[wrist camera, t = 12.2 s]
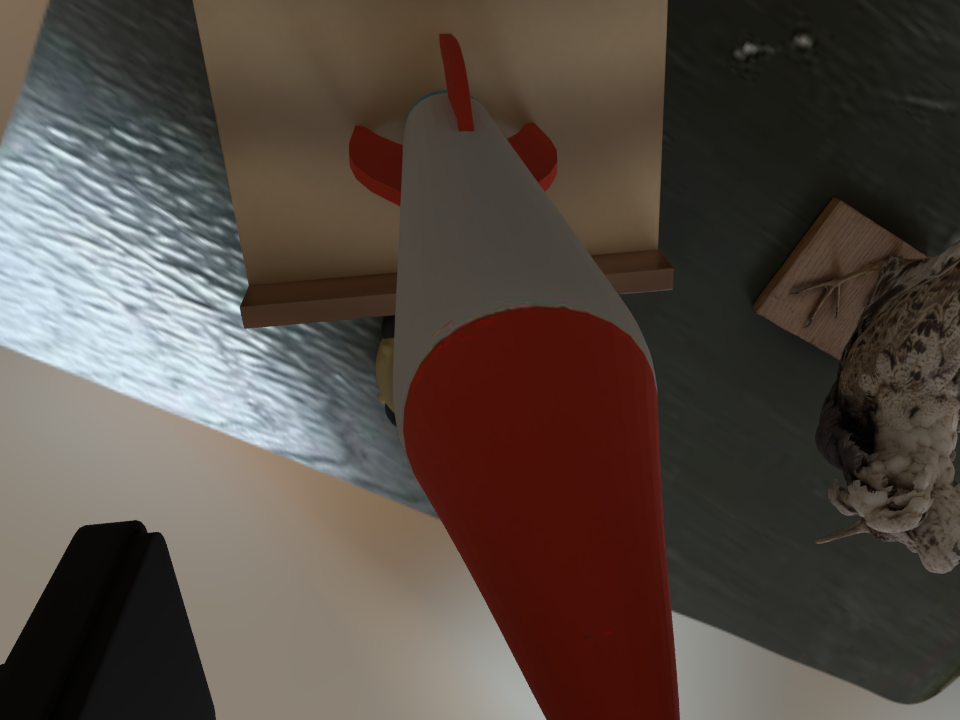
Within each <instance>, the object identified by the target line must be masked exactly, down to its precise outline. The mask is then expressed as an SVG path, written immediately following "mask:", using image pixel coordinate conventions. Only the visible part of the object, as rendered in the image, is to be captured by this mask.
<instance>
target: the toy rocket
mask: <svg viewBox="0 0 960 720" xmlns="http://www.w3.org/2000/svg"><path fill="white" fill-rule="evenodd" d="M439 40H440V49H441V54H442V59H443V64H444V71H445V78H446V85H447V90H443V91H436V92H433V93H429V94H427V95H426V96H424V97H422V98H420V99H419V100H418V101H417V102H416V103H415V104H414V105H413V106H412V108H411V109H410V111H409V113H408V115H407V118H406V121H405V125H404V136H403V145H401V144H399V143H396V142H394V141H391V140H389V139H386V138H384V137H381V136H379V135H377V134H375V133H374V132H372V131H371V130H369V129H368V128H366V127H363V126H355V128H354V131H353V133H352V136H351V139H350V142H349V162H350V168H351V170H352V172H353V174H354V176H355V178H356V179H357V180H358V181H359V182H360V183H361V184H362V185H364V186H365V187H366V188H367V189H368V190H370V191H371V192H372V193H374V194H376V195H378V196H380V197H382V198H384V199H386V200H388V201H390V202H392V203H394V204H396V205H398V206H400V225H399V247H398V268H397V290H396V312H395V334H394V360H393V404H394V412H395V418H396V425H397V431H398V436H399V440H400V442H401V445H402V448H403V451H404V453H405V456H406V459H407V461H408V464H409V466H410V468H411V470H412V471H413V473H414V475H415V476H416V478H417V480H418V482H419V483H420V485H421V487H422V488H423V490H424V492H425V493H426V495H427V497H428V499H429V500H430V502H431V504H432V505H433V507H434V509H435V511H436V512H437V514H438V516H439V518H440V519H441V521H442V523H443V525H444V526H445V528H446V530H447V532H448V533H449V535H450V537H451V539H452V540H453V542H454V544H455V546H456V548H457V550H458V551H459V553H460V555H461V557H462V559H463V560H464V562H465V564H466V566H467V568H468V569H469V571H470V573H471V575H472V577H473V579H474V581H475V582H476V584H477V586H478V588H479V590H480V592H481V594H482V596H483V598H484V599H485V601H486V603H487V605H488V607H489V609H490V611H491V613H492V615H493V617H494V619H495V620H496V622H497V624H498V626H499V628H500V630H501V632H502V634H503V636H504V638H505V640H506V642H507V644H508V646H509V648H510V650H511V652H512V654H513V656H514V657H515V660H516V662H517V663H518V665H519V667H520V669H521V671H522V673H523V675H524V677H525V679H526V681H527V683H528V685H529V687H530V689H531V691H532V693H533V695H534V697H535V698H536V700H537V702H538V704H539V706H540V708H541V710H542V712H543V714H544V716H545V718H546V719H547V720H680V715H679V697H678V684H677V671H676V659H675V647H674V636H673V624H672V614H671V603H670V592H669V581H668V570H667V558H666V546H665V533H664V520H663V505H662V489H661V471H660V451H659V426H658V397H657V384H656V378H655V373H654V367H653V362H652V357H651V354H650V351H649V349H648V347H647V344H646V342H645V340H644V337H643V335H642V333H641V331H640V328H639V326H638V324H637V322H636V321H635V319H634V317H633V316H632V314H631V312H630V311H629V309H628V308H627V306H626V305H625V303H624V302H623V300H622V299H621V297H620V296H619V295H618V293H617V292H616V290H615V289H614V288H613V286H612V285H611V283H610V282H609V281H608V279H607V278H606V276H605V275H604V274H603V272H602V271H601V269H600V268H599V267H598V265H597V264H596V262H595V261H594V260H593V258H592V257H591V255H590V254H589V253H588V251H587V250H586V249H585V247H584V246H583V244H582V243H581V242H580V240H579V239H578V237H577V236H576V235H575V233H574V232H573V230H572V229H571V228H570V226H569V225H568V224H567V222H566V221H565V219H564V218H563V217H562V215H561V214H560V212H559V211H558V210H557V208H556V207H555V205H554V204H553V203H552V201H551V200H550V199H549V197H548V196H547V194H546V193H545V191H546V190H547V189H549V188H550V186H551V184H552V182H553V181H554V179H555V177H556V175H557V163H558V160H557V149H556V148H555V146H554V144H553V143H552V141H551V139H550V138H549V137H548V136H547V135H546V134H545V133H544V132H543V131H542V130H541V129H540V128H539V127H538V126H537V125H536V124H535V123H530V124H525V125H524V126H523V127H522V129H521V130H520V131H519V132H518V133H517V134H515V135H513V136H511V137H510V138H508V139H506V137H505V136H504V135H503V133H502V132H501V131H500V129H499V128H498V126H497V125H496V124H495V122H494V121H493V119H492V118H491V117H490V115H489V114H488V112H487V111H486V109H485V108H484V107H483V106H482V104H481V103H480V102H479V101H478V100H476V99H475V98H474V97H472V96H470V92H469V85H468V80H467V74H466V68H465V62H464V59H463V55H462V51H461V47H460V45H459V43H458V41H457V39H456V38H455V37H454V36H453V35H452V34H439Z"/></svg>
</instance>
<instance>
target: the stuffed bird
mask: <svg viewBox="0 0 960 720" xmlns="http://www.w3.org/2000/svg"><path fill="white" fill-rule="evenodd" d="M753 310H754V311H755V312H756V313H757V314H759V315H761V316H763V317H764V318H766V319H768V320H770V321H772V322H773V323H775V324H776V325H778V326H780V327H781V328H783V329H785V330H787V331H788V332H790V333H792V334H794V335H796V336H798V337H800V338H801V339H803V340H805V341H807V342H808V343H810V344H811V345H814V346H815V347H817V348H819V349H820V350H822V351H824V352H826V353H828V354H830V355H832V356H833V357H834V358H836V359H838V360H840V364H839V369H838V373H837V380H836V382H835V383H834V384H833V386H832V388H831V390H830V393H829V395H828V396H827V397H826V399H825V401H824V404H823V407H822V412H821V415H820V420H819V425H818V428H817V431H816V435H815V438H816V439H815V440H816V445H817V447H818V450H819V451H820V452H821V454H822V455H823V457H824V458H825V459H826V460H827V461H828V462H829V463H830V464H832V465H833V466H835V467H836V468H838V469H841V470H843V474H844V477H845V480H846V482H847V485H848V489H844V488H843V487H841V486H840V484H839V483H838V482H837V479H836V477H835V479H834V489H829V488H828V497H829V500H830V502H831V503H832V505H833V506H835V507H837V509H838V510H839V511H840V512H841V513H842V514H845V515H847V516H850V515H854V514H856V515H859V516H861V517H860V519H859V520H858V521H856V522H855V523H853V524H852V525H850V526H848V527H846V528H844V529H842V530H839V531H837V532H835V533H833V534H831V535H829V536H827V537H824V538H821V539H819V540H816V541H815V543H817V544H821V543H825V542H829V541H832V540H836V539H840V538H843V537H847V536H850V535H853V534H857V533H861V532H866V533H870V534H873V535H874V536H876V538H881V539H882V541H884V542H887V541H888V542H894V541H896V542H901V543H903V544H905V545H906V546H907V547H908V549H909V550H911V551H912V552H914V553H917V552H918V554H919V556H920V558H921V561H922V564H923V565H924V567H925V568H926V569H927V570H928V571H930V572H933V573H941V574H942V573H947V572H950V571H951V570H952V569H953V568H954V566H956V565H957V564H959V563H960V562H959V563H958V560H959V559H960V556H956V555H957V554H956V553H955V552H952V549H953V547H954V545H955V542H958V545H957V547H958V549H959V550H960V483H959V484H957V482H955V481H954V482H953V479H954V477H953V476H954V473H955V470H954V467H953V465H952V461H953V460H954V459H955V456H956V452H955V451H954V449H955V446H956V442H957V432H958V433H960V240H959V241H958V242H957V243H955V244H954V245H952V246H951V247H950V248H948V249H947V250H946V251H944V252H943V253H942V254H941V255H939V256H929V257H928V256H926V255H925V254H923V253H921V252H920V251H918V250H917V249H915V248H914V247H912V246H911V245H909V244H908V243H906V242H904V241H903V240H902V239H900V238H898V237H897V236H895V235H894V234H892V233H891V232H889V231H888V230H886V229H885V228H883V227H881V226H880V225H878V224H877V223H875V222H874V221H872V220H870V219H869V218H867V217H866V216H864V215H863V214H861V213H860V212H858V211H857V210H855V209H854V208H852V207H851V206H849V205H848V204H846V203H844V202H843V201H841V200H839V199H838V198H836V197H833V198H832V199H831V201H830V202H829V203H828V205H827V206H826V207H825V209H824V210H823V211H822V213H821V214H820V215H819V217H818V218H817V219H816V221H815V222H814V223H813V225H812V226H811V227H810V229H809V230H808V231H807V233H806V234H805V235H804V237H803V238H802V239H801V241H800V242H799V243H798V245H797V246H796V248H795V249H794V250H793V252H792V253H791V254H790V255H789V257H788V258H787V260H786V261H785V262H784V264H783V265H782V266H781V268H780V269H779V270H778V272H777V273H776V274H775V276H774V277H773V278H772V280H771V281H770V282H769V284H768V285H767V286H766V288H765V289H764V290H763V292H762V293H761V295H760V296H759V297H758V298H757V300H756V301H755V303H754V306H753ZM888 542H887V543H888Z"/></svg>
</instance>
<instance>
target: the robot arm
mask: <svg viewBox="0 0 960 720" xmlns="http://www.w3.org/2000/svg"><path fill="white" fill-rule="evenodd" d="M0 720H216V717H215V709H214V705H213V702H212V698H211V694H210V691H209V688H208V684H207V681H206V677H205V674H204V671H203V668H202V664H201V660H200V657H199V654H198V650H197V647H196V643H195V640H194V636H193V633H192V630H191V627H190V623H189V619H188V616H187V613H186V609H185V606H184V603H183V599H182V596H181V592H180V589H179V585H178V582H177V579H176V575H175V572H174V568H173V565H172V561H171V558H170V555H169V551H168V548H167V544H166V542H165V539H164V537H163V535H162V534H161V533H159V532H153V533H147V530H146V528H145V526H144V525H143V524H142V522H140V521H137V520H134V521H124V522H114V523H104V524H94V525H85V526H83V527H81V528H79V529H78V531H77V532H76V533H75V535H74V537H73V538H72V540H71V542H70V544H69V546H68V548H67V549H66V551H65V553H64V555H63V557H62V559H61V560H60V562H59V564H58V566H57V568H56V570H55V572H54V573H53V575H52V577H51V579H50V581H49V583H48V584H47V586H46V588H45V590H44V592H43V593H42V595H41V597H40V599H39V601H38V603H37V605H36V606H35V608H34V610H33V612H32V614H31V616H30V617H29V619H28V621H27V623H26V625H25V627H24V629H23V630H22V632H21V634H20V636H19V638H18V640H17V641H16V643H15V645H14V647H13V649H12V651H11V652H10V654H9V656H8V658H7V660H6V662H5V664H1V665H0Z"/></svg>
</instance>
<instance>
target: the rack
mask: <svg viewBox="0 0 960 720" xmlns="http://www.w3.org/2000/svg"><path fill="white" fill-rule="evenodd" d="M193 6H194V11H195V16H196V21H197V26H198V31H199V36H200V41H201V46H202V51H203V56H204V61H205V66H206V71H207V76H208V81H209V86H210V91H211V96H212V101H213V107H214V112H215V117H216V122H217V127H218V132H219V137H220V142H221V147H222V152H223V157H224V162H225V167H226V172H227V177H228V182H229V187H230V192H231V197H232V202H233V208H234V213H235V218H236V223H237V228H238V233H239V238H240V243H241V248H242V253H243V258H244V263H245V268H246V273H247V278H248V283H249V287H248V289H247V292H246V294H245V296H244V299H243V301H242V303H241V306H240V311H241V316H242V320H243V325H244V328H245V329H247V328H258V327H269V326H279V325H290V324H301V323H312V322H323V321H334V320H345V319H356V318H367V317H378V316H389V315H395V312H396V290H397V268H398V247H399V225H400V206H398V205H396V204H394V203H392V202H390V201H388V200H386V199H384V198H382V197H380V196H378V195H376V194H374V193H372V192H371V191H370V190H368V189H367V188H366V187H365V186H364V185H362V184H361V183H360V182H359V181H358V180H357V179H356V178H355V176H354V174H353V172H352V170H351V168H350V162H349V142H350V139H351V136H352V133H353V131H354V128H355V126H363V127H366V128H368V129H369V130H371V131H372V132H374V133H375V134H377V135H379V136H381V137H384V138H386V139H389V140H391V141H394V142H396V143H399V144H401V145H403V136H404V125H405V121H406V118H407V115H408V113H409V111H410V109H411V108H412V106H413V105H414V104H415V103H416V102H417V101H418V100H419V99H420V98H422V97H424V96H426V95H427V94H429V93H433V92H436V91H443V90H447V85H446V78H445V71H444V64H443V59H442V54H441V49H440V40H439V34H452V35H453V36H454V37H455V38H456V39H457V41H458V43H459V45H460V47H461V51H462V55H463V59H464V62H465V68H466V74H467V80H468V85H469V92H470V96H472V97H474V98H475V99H476V100H478V101H479V102H480V103H481V104H482V106H483V107H484V108H485V109H486V111H487V112H488V114H489V115H490V117H491V118H492V119H493V121H494V122H495V124H496V125H497V126H498V128H499V129H500V131H501V132H502V133H503V135H504V136H505V137H506V139H508V138H510V137H511V136H513V135H515V134H517V133H518V132H519V131H520V130H521V129H522V127H523V126H524V125H525V124H530V123H535V124H536V125H537V126H538V127H539V128H540V129H541V130H542V131H543V132H544V133H545V134H546V135H547V136H548V137H549V138H550V139H551V141H552V143H553V144H554V146H555V148H556V149H557V160H558V163H557V175H556V177H555V179H554V181H553V182H552V184H551V186H550V188H549V189H547V190H546V191H545V193H546V194H547V196H548V197H549V199H550V200H551V201H552V203H553V204H554V205H555V207H556V208H557V210H558V211H559V212H560V214H561V215H562V217H563V218H564V219H565V221H566V222H567V224H568V225H569V226H570V228H571V229H572V230H573V232H574V233H575V235H576V236H577V237H578V239H579V240H580V242H581V243H582V244H583V246H584V247H585V249H586V250H587V251H588V253H589V254H590V255H591V257H592V258H593V260H594V261H595V262H596V264H597V265H598V267H599V268H600V269H601V271H602V272H603V274H604V275H605V276H606V278H607V279H608V281H609V282H610V283H611V285H612V286H613V288H614V289H615V290H616V292H617V293H618V295H619V294H630V293H641V292H651V291H662V290H672V289H673V282H674V267H673V266H672V265H671V264H670V263H669V262H668V260H667V259H666V258H665V257H664V256H663V255H662V254H661V252H660V251H659V250H658V232H659V207H660V182H661V157H662V132H663V107H664V82H665V58H666V33H667V8H668V0H193Z"/></svg>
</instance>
